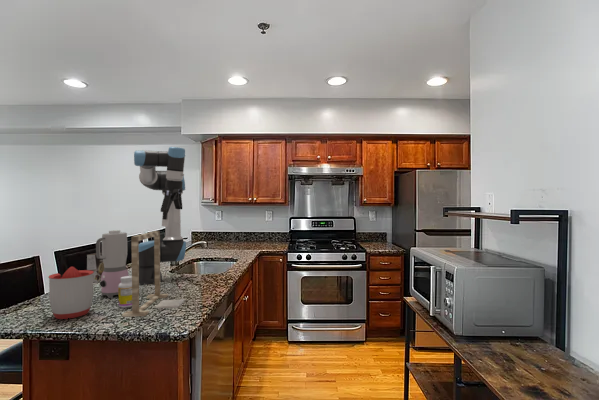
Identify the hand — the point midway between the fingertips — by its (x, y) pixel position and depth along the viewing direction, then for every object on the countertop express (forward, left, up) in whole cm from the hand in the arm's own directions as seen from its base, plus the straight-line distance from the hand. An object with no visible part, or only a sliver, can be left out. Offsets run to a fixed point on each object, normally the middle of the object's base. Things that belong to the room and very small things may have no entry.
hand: (170, 224), depth 165 cm
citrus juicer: (+21, -34, -36) cm, 54 cm away
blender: (-8, -31, -36) cm, 48 cm away
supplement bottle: (+11, -16, -36) cm, 41 cm away
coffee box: (-44, -56, -36) cm, 80 cm away
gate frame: (+11, -7, -35) cm, 38 cm away
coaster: (+11, +3, -35) cm, 37 cm away
